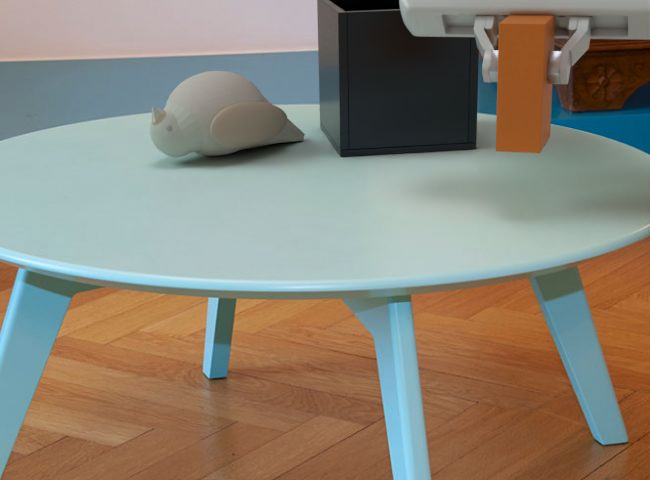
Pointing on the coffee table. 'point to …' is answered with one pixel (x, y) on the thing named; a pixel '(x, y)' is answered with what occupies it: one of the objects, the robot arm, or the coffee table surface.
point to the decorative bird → (218, 117)
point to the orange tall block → (524, 83)
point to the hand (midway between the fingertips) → (524, 78)
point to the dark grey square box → (392, 82)
